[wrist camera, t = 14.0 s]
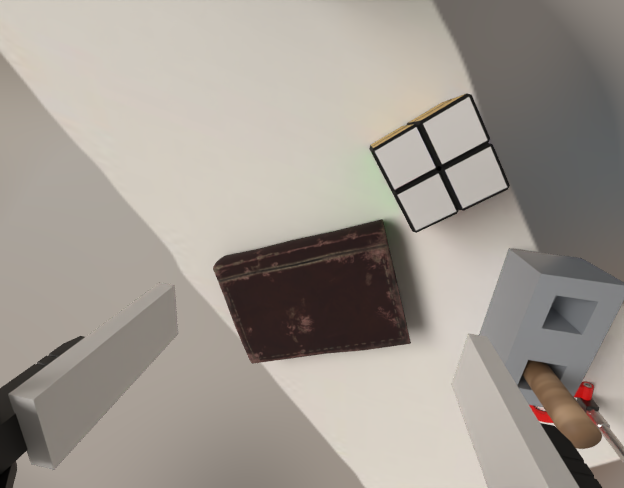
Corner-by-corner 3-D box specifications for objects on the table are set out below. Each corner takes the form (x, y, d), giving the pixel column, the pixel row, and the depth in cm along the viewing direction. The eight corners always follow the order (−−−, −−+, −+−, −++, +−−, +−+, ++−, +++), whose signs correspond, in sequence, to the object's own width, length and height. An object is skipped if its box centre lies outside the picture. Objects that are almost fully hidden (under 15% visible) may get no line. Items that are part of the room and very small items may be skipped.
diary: (224, 252, 49) (209, 265, 44) (381, 215, 43) (383, 225, 39) (261, 350, 54) (252, 370, 49) (407, 328, 48) (412, 349, 44)
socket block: (508, 248, 41) (541, 273, 34) (581, 258, 40) (631, 286, 33) (471, 356, 48) (492, 397, 40) (533, 367, 47) (566, 411, 39)
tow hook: (516, 414, 51) (582, 419, 49) (558, 501, 39) (648, 512, 37) (521, 373, 48) (591, 376, 46) (568, 452, 36) (666, 461, 34)
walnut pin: (509, 335, 43) (571, 422, 30) (533, 338, 43) (607, 428, 30) (502, 353, 45) (559, 444, 32) (526, 357, 44) (594, 451, 31)
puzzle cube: (476, 175, 39) (512, 188, 30) (402, 212, 42) (414, 235, 33) (443, 101, 37) (471, 90, 28) (368, 146, 40) (369, 150, 31)
